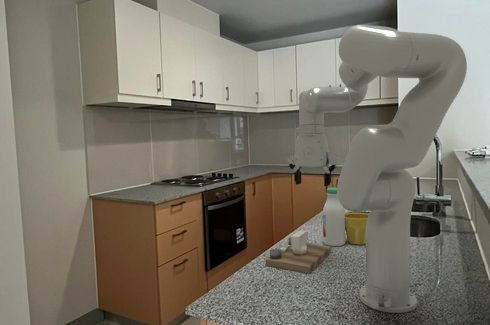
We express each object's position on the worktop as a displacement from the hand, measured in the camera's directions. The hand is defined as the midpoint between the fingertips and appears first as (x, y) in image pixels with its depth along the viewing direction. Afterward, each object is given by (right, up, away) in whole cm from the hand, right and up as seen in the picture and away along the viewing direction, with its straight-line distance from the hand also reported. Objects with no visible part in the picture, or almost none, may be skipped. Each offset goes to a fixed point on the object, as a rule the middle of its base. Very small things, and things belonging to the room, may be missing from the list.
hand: (312, 184), depth 112 cm
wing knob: (-4, -21, 0) cm, 22 cm away
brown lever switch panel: (-4, -24, 0) cm, 24 cm away
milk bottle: (+11, -22, +15) cm, 29 cm away
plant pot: (+19, -22, +16) cm, 33 cm away
